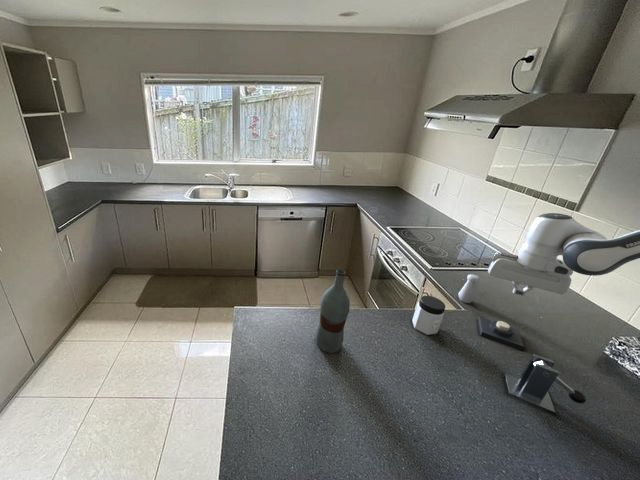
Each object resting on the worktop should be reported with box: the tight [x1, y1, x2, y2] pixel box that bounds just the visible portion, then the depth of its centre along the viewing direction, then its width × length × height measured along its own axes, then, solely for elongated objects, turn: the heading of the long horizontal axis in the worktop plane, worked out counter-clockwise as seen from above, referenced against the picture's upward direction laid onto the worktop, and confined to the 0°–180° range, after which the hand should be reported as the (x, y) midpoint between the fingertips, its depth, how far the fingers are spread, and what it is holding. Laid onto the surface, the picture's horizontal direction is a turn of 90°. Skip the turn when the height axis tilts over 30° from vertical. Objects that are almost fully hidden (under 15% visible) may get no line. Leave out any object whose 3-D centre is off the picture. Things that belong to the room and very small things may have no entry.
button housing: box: [477, 316, 525, 351], centre depth 105 cm, size 12×10×4 cm
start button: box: [496, 320, 511, 331], centre depth 104 cm, size 4×4×2 cm
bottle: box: [315, 268, 351, 354], centre depth 92 cm, size 9×9×30 cm
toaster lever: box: [533, 360, 587, 404], centre depth 78 cm, size 13×3×3 cm
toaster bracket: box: [504, 353, 560, 414], centre depth 81 cm, size 10×8×13 cm
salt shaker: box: [458, 274, 481, 304], centre depth 122 cm, size 6×6×13 cm
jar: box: [411, 295, 446, 336], centre depth 106 cm, size 9×8×12 cm
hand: (518, 293), depth 98 cm, fingers closed
